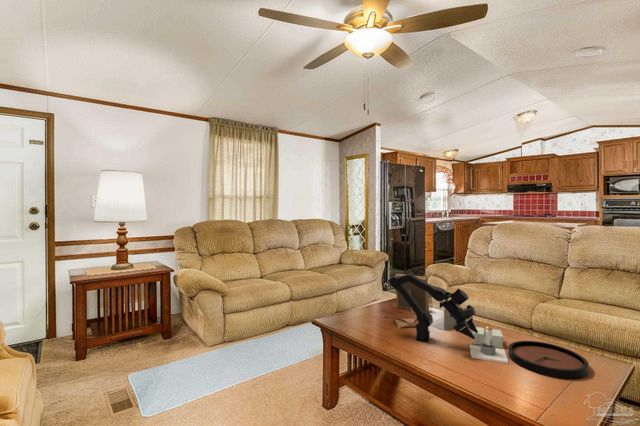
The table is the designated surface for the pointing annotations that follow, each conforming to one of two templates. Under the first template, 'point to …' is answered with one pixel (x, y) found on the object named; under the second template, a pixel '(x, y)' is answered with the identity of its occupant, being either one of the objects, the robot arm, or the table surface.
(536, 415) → the table surface
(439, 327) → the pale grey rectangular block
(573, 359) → the wall clock
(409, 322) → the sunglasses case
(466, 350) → the table surface
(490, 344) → the gold topped patterned cylinder
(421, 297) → the tall grey box
